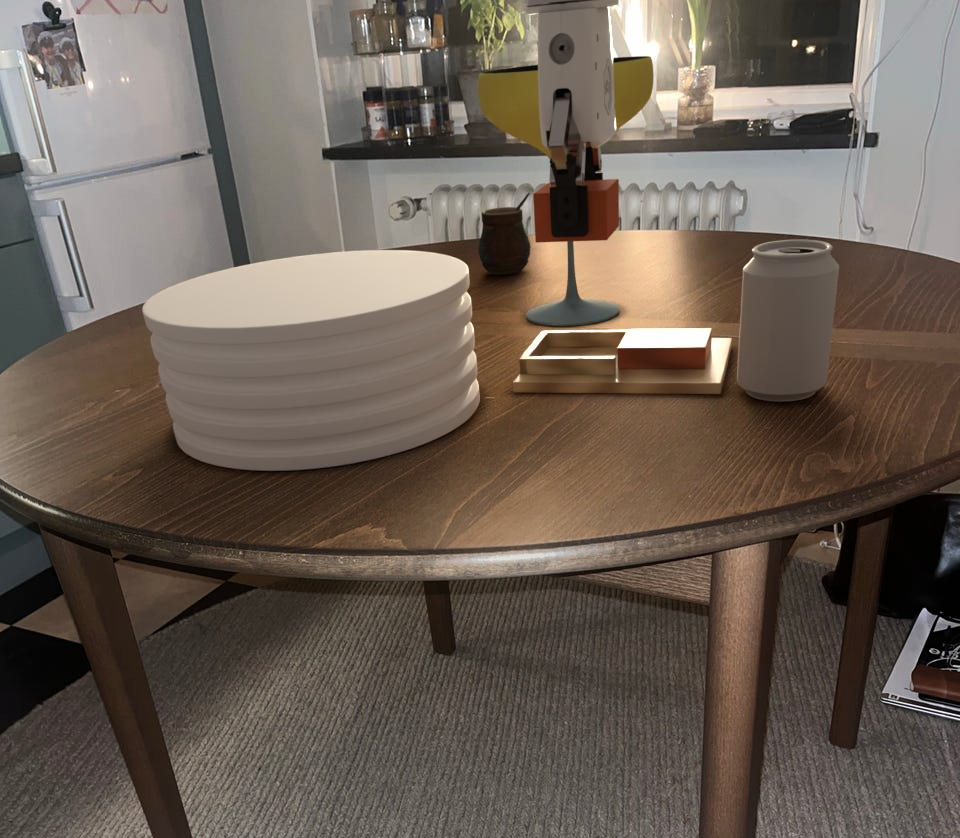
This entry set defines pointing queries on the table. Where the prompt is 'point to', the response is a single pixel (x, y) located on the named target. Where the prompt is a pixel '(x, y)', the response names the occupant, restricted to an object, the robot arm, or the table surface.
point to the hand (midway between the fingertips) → (578, 226)
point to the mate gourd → (504, 240)
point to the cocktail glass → (516, 112)
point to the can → (787, 319)
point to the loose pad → (599, 212)
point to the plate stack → (316, 358)
